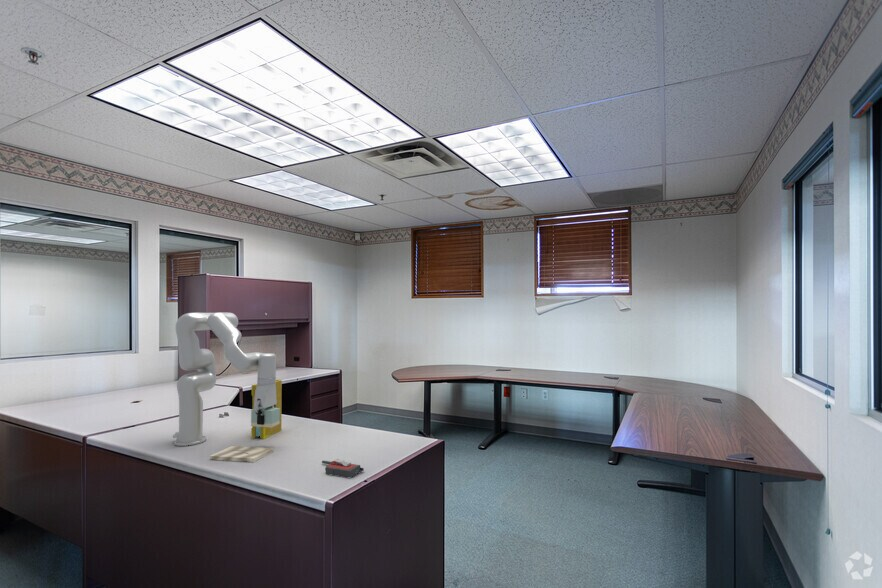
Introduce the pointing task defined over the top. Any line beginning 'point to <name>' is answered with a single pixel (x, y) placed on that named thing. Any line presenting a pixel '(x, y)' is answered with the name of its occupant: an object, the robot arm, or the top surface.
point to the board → (241, 453)
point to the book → (268, 431)
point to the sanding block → (267, 417)
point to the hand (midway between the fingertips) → (265, 422)
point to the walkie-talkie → (342, 468)
